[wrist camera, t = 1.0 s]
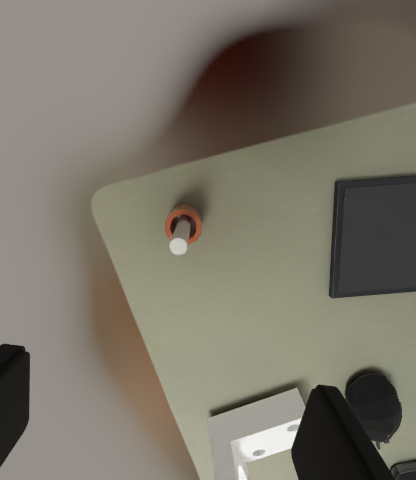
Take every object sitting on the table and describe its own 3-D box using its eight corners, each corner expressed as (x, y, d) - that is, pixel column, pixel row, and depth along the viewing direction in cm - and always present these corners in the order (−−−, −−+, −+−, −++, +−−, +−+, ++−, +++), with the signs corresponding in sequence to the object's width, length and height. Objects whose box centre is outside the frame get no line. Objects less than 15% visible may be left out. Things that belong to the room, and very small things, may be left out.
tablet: (334, 181, 29) (339, 182, 28) (493, 169, 30) (502, 169, 29) (328, 295, 33) (332, 299, 32) (469, 283, 33) (477, 287, 32)
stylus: (178, 215, 29) (168, 238, 20) (190, 214, 29) (186, 236, 20) (179, 227, 30) (169, 256, 20) (191, 226, 30) (188, 254, 20)
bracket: (223, 439, 40) (234, 507, 33) (207, 418, 36) (216, 489, 30) (305, 412, 39) (333, 476, 32) (297, 387, 36) (326, 454, 29)
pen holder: (167, 205, 29) (162, 211, 26) (200, 203, 30) (200, 208, 26) (171, 236, 30) (166, 246, 27) (202, 234, 30) (203, 243, 27)
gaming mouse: (357, 452, 40) (374, 482, 36) (339, 376, 36) (356, 401, 33) (398, 441, 40) (419, 470, 36) (384, 363, 36) (406, 387, 32)
